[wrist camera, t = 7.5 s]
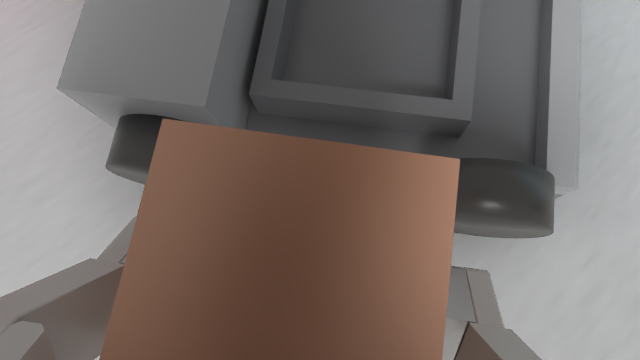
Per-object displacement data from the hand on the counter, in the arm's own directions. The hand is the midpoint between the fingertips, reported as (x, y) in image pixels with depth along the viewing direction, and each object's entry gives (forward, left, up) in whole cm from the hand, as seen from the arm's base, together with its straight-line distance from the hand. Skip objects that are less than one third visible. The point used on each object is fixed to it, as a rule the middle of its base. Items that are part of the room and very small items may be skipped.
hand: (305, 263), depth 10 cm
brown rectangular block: (0, -1, -4) cm, 4 cm away
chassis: (-1, +11, -10) cm, 15 cm away
